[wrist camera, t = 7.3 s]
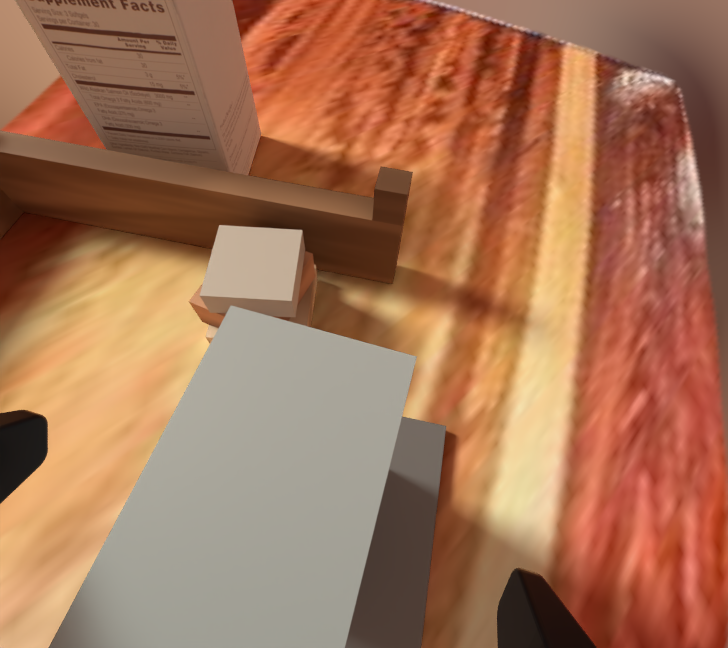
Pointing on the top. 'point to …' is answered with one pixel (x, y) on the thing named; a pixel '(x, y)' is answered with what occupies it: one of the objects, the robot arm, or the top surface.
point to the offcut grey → (254, 270)
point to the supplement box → (155, 76)
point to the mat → (401, 544)
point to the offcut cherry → (306, 281)
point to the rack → (200, 202)
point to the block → (252, 498)
